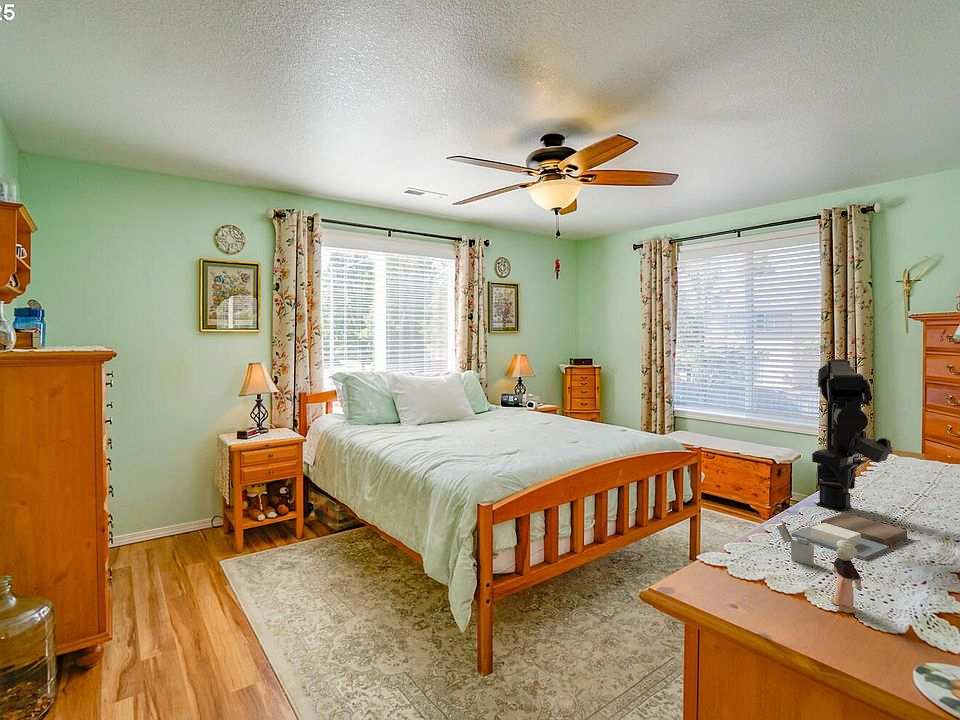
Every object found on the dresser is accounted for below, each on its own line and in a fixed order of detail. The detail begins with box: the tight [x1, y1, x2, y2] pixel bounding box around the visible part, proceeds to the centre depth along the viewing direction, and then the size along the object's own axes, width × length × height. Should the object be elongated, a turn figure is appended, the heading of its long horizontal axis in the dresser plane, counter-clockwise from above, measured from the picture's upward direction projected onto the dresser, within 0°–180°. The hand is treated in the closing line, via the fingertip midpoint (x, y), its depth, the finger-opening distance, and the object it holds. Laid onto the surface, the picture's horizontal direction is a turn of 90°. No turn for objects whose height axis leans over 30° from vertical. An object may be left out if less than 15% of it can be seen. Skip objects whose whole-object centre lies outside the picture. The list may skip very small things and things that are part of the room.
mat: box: [791, 523, 890, 561], centre depth 120 cm, size 16×11×1 cm
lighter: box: [775, 521, 815, 566], centre depth 111 cm, size 7×2×8 cm, turn 47°
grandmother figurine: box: [830, 540, 863, 614], centre depth 92 cm, size 8×4×13 cm, turn 5°
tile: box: [811, 523, 861, 546], centre depth 119 cm, size 8×6×2 cm
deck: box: [820, 512, 908, 547], centre depth 125 cm, size 14×11×2 cm
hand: (845, 488), depth 121 cm, fingers closed
